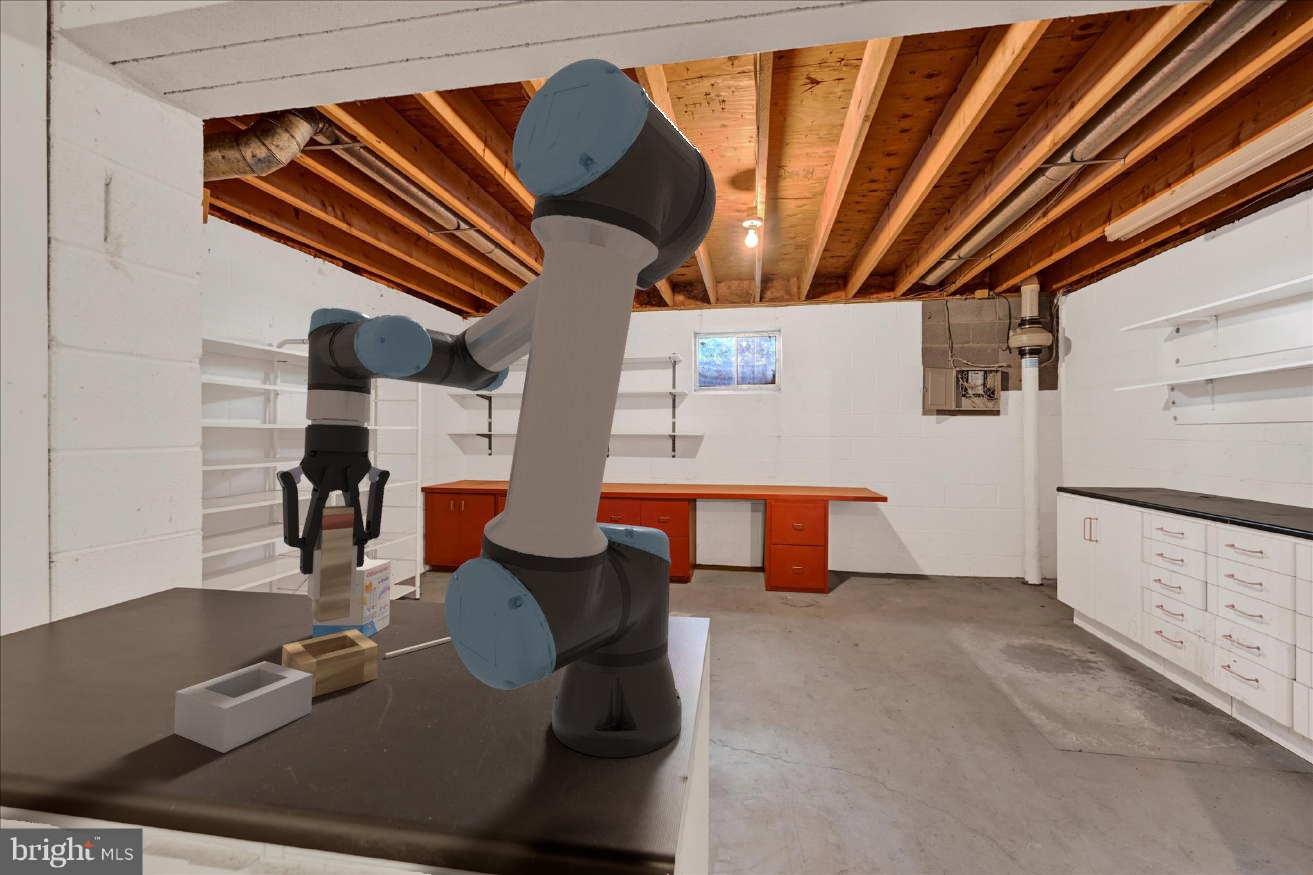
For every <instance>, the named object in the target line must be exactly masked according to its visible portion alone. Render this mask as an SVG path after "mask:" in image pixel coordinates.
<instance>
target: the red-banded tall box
mask: <svg viewBox="0 0 1313 875" xmlns="http://www.w3.org/2000/svg"><path fill="white" fill-rule="evenodd" d="M353 528H354V507H349V506H345V504H342V505H341V504H340V505H339V504H338V505H325V509H323V515H322V521H321V525H320V529H319V533H318V537H317V541H316V545H315V547H317V548H318V549H320V550H321V573H320V598H319V599H317V600H312V599H311V618H312V619H313V618H314V619H315V620H317V621H318V622H319V623H321V622H326V621H331V620H336V619H341V618H346V617H350V595H351V569H352V543H353Z"/></svg>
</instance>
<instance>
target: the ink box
mask: <svg viewBox="0 0 1313 875" xmlns="http://www.w3.org/2000/svg"><path fill="white" fill-rule="evenodd" d="M391 568H392V560H391V559H370V558H369V557H368V556H367V555H366V554H365V553H364V564H363V566H362V567H356V593H352V594H351V595H350V617H346V618H341V619H336V620H331V621H326V622H321V623H319V622H318V621H317V620H315V619H314V618H313V617H312V638H311V639H313V638H317V637H322V636H326V635H331V634H335V633H340V632H345V631H349V630H354V629H356V630H358V631H359V632H360V633H362V634H363V635H365V636H366V637H367V638H369V639H370V637H372V636H373V635H375V634H376V633H378V632H380V631H381V630H383V629H385V628H386V627H387V626H389V625H390V611H391V610H390V606H391V605H390V600H391V574H392V573H391V572H392V571H391V570H392V569H391Z"/></svg>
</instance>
